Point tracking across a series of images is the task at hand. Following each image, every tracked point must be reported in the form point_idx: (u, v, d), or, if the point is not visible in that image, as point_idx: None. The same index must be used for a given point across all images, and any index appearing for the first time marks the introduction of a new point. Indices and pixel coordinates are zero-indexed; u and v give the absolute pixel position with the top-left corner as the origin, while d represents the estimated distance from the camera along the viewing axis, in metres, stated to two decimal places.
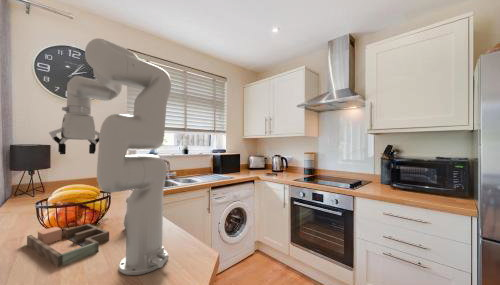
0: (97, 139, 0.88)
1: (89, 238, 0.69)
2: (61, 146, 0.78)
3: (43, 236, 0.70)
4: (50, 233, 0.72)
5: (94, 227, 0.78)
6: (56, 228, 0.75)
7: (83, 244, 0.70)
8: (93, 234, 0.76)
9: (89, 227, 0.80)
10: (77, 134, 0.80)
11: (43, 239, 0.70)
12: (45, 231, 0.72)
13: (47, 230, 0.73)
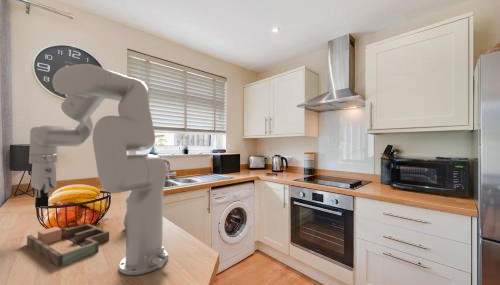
0: None
1: (89, 238, 0.69)
2: None
3: (43, 236, 0.70)
4: (50, 233, 0.72)
5: (94, 227, 0.78)
6: (56, 228, 0.75)
7: (83, 244, 0.70)
8: (93, 234, 0.76)
9: (89, 227, 0.80)
10: None
11: (43, 239, 0.70)
12: (45, 231, 0.72)
13: (47, 230, 0.73)
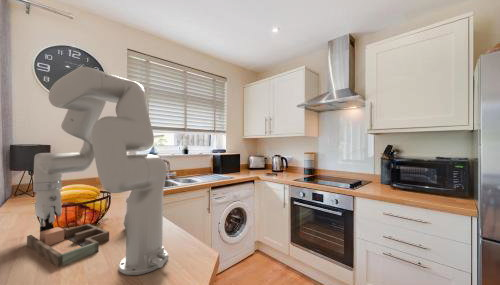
0: (47, 217, 0.77)
1: (89, 238, 0.69)
2: None
3: (46, 236, 0.70)
4: (53, 233, 0.71)
5: (94, 227, 0.78)
6: (58, 228, 0.74)
7: (83, 244, 0.70)
8: (93, 234, 0.76)
9: (89, 227, 0.80)
10: None
11: (46, 239, 0.69)
12: (47, 231, 0.72)
13: (49, 230, 0.73)
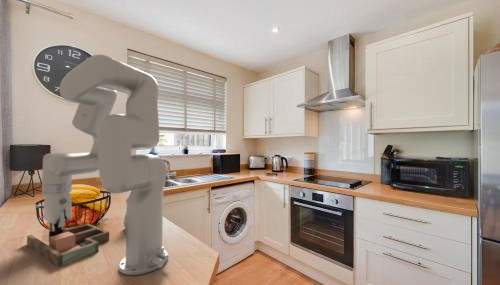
0: None
1: (89, 238, 0.69)
2: None
3: (56, 242, 0.65)
4: (63, 239, 0.67)
5: (94, 227, 0.78)
6: (69, 233, 0.70)
7: (83, 244, 0.70)
8: (93, 234, 0.76)
9: (89, 227, 0.80)
10: None
11: (56, 245, 0.65)
12: (57, 237, 0.67)
13: (59, 235, 0.68)
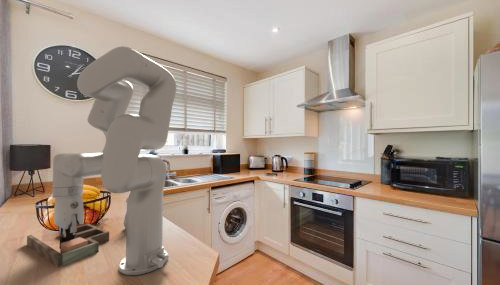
0: None
1: (89, 238, 0.69)
2: None
3: (68, 249, 0.61)
4: (76, 245, 0.62)
5: (94, 227, 0.78)
6: (81, 239, 0.66)
7: None
8: (93, 234, 0.76)
9: (89, 227, 0.80)
10: None
11: None
12: (69, 243, 0.63)
13: (71, 242, 0.64)
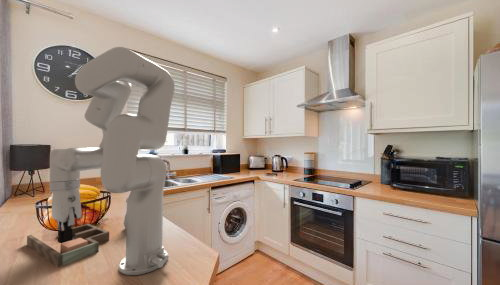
0: None
1: (89, 238, 0.69)
2: None
3: (68, 250, 0.61)
4: (76, 246, 0.62)
5: (94, 227, 0.78)
6: (81, 240, 0.66)
7: None
8: (93, 234, 0.76)
9: (89, 227, 0.80)
10: None
11: None
12: (69, 244, 0.63)
13: (71, 242, 0.64)
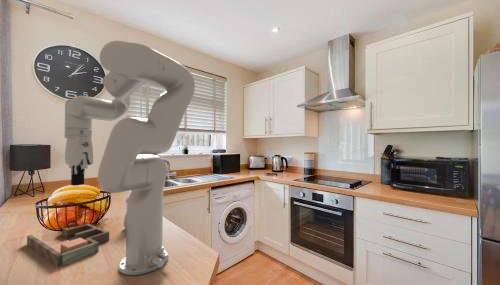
0: None
1: (89, 238, 0.69)
2: None
3: (68, 250, 0.61)
4: (76, 246, 0.62)
5: (94, 227, 0.78)
6: (81, 240, 0.66)
7: None
8: (93, 234, 0.76)
9: (89, 227, 0.80)
10: None
11: None
12: (69, 244, 0.63)
13: (71, 242, 0.64)
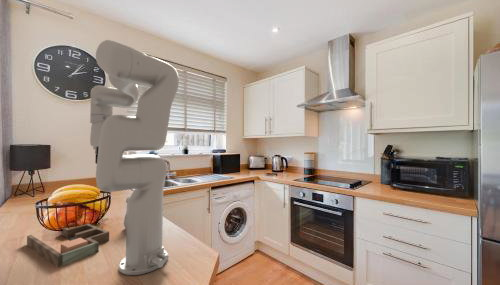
0: None
1: (89, 238, 0.69)
2: None
3: (68, 250, 0.61)
4: (75, 246, 0.62)
5: (94, 227, 0.78)
6: (81, 240, 0.66)
7: None
8: (93, 234, 0.76)
9: (89, 227, 0.80)
10: None
11: None
12: (69, 244, 0.63)
13: (71, 242, 0.64)
